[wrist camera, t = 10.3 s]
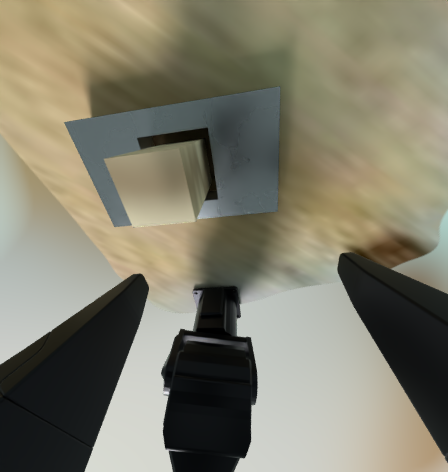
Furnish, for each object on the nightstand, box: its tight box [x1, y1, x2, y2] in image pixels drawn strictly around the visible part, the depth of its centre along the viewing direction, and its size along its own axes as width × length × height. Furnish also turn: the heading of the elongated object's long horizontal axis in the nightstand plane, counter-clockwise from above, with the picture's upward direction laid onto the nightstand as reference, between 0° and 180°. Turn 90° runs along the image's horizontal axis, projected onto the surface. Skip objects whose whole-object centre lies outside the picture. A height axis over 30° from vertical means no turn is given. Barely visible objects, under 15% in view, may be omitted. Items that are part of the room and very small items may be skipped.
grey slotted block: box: [64, 86, 280, 227], centre depth 17 cm, size 9×16×3 cm, turn 97°
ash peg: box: [104, 138, 212, 228], centre depth 14 cm, size 4×4×9 cm
